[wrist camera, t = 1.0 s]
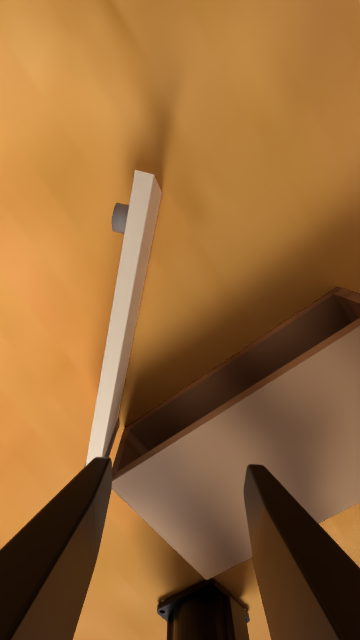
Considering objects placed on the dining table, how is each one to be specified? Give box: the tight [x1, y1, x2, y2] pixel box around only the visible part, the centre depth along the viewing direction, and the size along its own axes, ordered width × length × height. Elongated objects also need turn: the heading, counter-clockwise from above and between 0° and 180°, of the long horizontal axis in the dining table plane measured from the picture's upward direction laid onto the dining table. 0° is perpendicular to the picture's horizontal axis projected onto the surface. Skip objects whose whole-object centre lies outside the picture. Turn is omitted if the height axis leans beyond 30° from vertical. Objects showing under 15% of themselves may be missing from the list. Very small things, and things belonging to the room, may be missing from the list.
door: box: [85, 170, 162, 466], centre depth 16 cm, size 17×2×5 cm, turn 167°
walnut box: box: [111, 287, 360, 580], centre depth 18 cm, size 18×10×5 cm, turn 127°
